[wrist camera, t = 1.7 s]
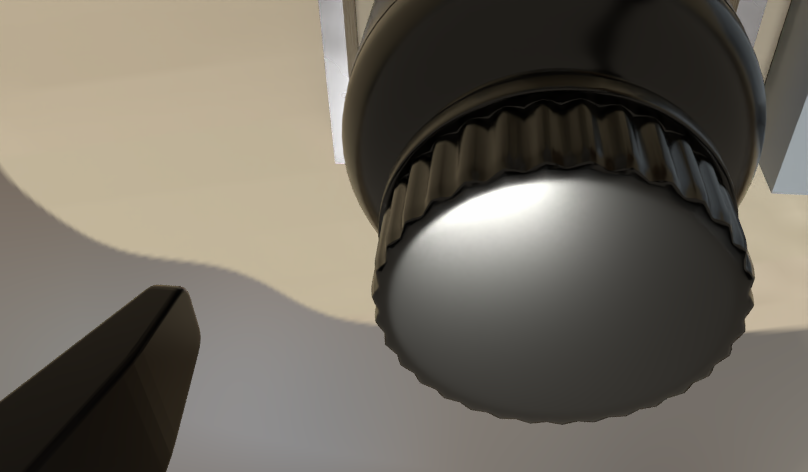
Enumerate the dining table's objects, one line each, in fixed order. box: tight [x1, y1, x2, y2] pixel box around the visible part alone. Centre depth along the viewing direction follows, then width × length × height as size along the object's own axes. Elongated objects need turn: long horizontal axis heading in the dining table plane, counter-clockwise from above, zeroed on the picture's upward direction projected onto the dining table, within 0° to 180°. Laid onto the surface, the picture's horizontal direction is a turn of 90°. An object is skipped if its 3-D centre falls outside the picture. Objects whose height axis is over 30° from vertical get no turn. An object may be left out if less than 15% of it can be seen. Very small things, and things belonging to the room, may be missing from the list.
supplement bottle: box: [342, 0, 766, 425], centre depth 14 cm, size 7×7×12 cm
